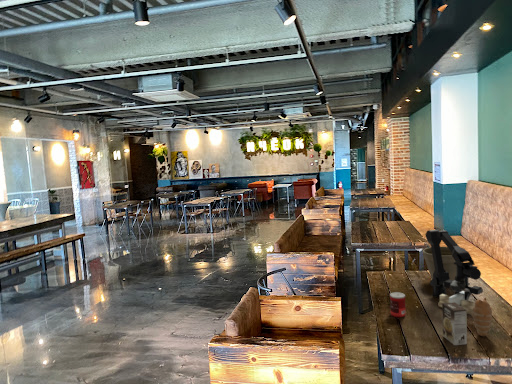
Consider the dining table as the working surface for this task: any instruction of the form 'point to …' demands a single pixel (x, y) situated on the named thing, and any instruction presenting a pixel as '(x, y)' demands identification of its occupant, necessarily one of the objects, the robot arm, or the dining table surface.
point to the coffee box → (454, 323)
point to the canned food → (397, 304)
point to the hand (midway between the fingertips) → (462, 302)
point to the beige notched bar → (464, 303)
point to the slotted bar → (457, 298)
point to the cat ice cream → (482, 316)
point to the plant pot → (447, 261)
